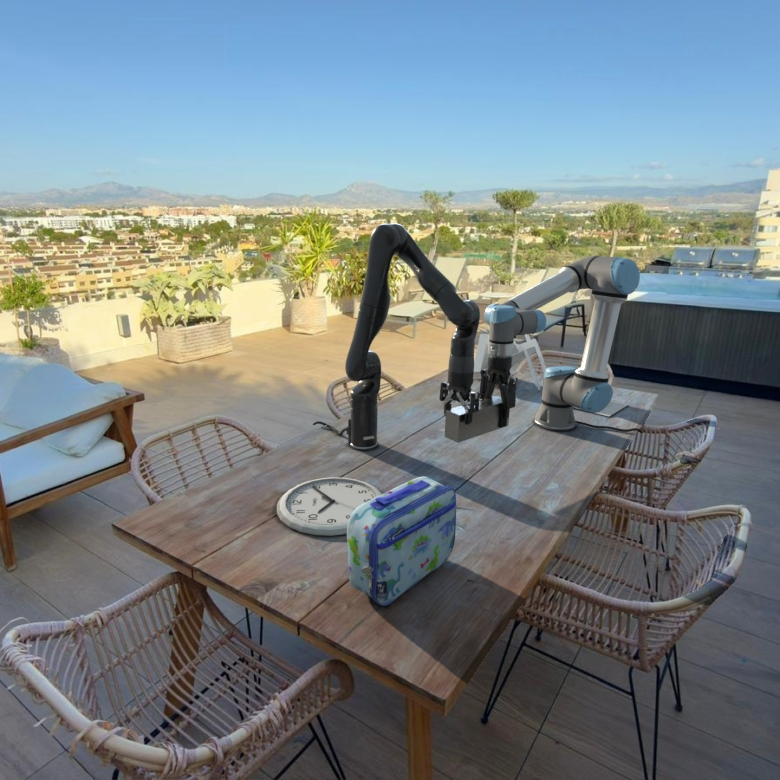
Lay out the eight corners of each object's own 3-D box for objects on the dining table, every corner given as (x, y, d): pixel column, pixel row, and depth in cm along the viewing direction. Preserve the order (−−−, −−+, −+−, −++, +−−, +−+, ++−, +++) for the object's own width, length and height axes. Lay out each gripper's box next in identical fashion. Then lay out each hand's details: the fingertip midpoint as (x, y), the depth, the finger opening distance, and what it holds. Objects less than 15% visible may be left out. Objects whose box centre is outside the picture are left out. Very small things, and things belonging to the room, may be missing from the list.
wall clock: (392, 527, 129) (268, 531, 127) (391, 533, 130) (269, 537, 127) (383, 473, 158) (282, 475, 155) (383, 478, 158) (282, 480, 156)
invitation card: (608, 416, 214) (573, 407, 224) (608, 416, 214) (573, 408, 224) (628, 404, 229) (594, 396, 238) (628, 405, 229) (594, 397, 238)
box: (494, 420, 176) (496, 395, 174) (508, 425, 172) (510, 400, 169) (444, 436, 162) (445, 409, 160) (457, 442, 158) (459, 415, 155)
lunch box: (376, 619, 101) (377, 524, 95) (340, 592, 109) (339, 502, 102) (459, 562, 119) (465, 479, 113) (424, 542, 126) (427, 463, 120)
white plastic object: (486, 419, 265) (465, 396, 240) (467, 347, 287) (447, 319, 262) (557, 395, 253) (543, 369, 228) (532, 321, 275) (517, 290, 250)
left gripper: (435, 365, 158) (432, 415, 163) (470, 376, 147) (465, 429, 152) (452, 361, 163) (449, 410, 167) (487, 372, 152) (483, 424, 157)
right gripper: (469, 351, 170) (466, 418, 177) (516, 363, 156) (510, 435, 163) (485, 348, 174) (481, 413, 181) (532, 359, 160) (525, 429, 167)
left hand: (457, 419), depth 160 cm, fingers open, 8 cm apart
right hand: (495, 423), depth 172 cm, fingers closed on box, 6 cm apart
